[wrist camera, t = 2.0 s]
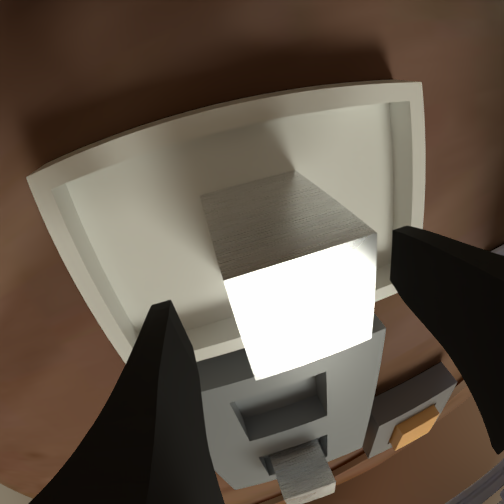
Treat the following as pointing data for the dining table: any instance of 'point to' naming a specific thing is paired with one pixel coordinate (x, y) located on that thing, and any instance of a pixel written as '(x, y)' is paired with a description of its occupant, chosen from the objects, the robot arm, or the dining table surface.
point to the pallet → (287, 408)
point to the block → (303, 473)
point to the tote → (219, 177)
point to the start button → (413, 427)
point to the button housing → (406, 405)
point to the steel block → (292, 270)
